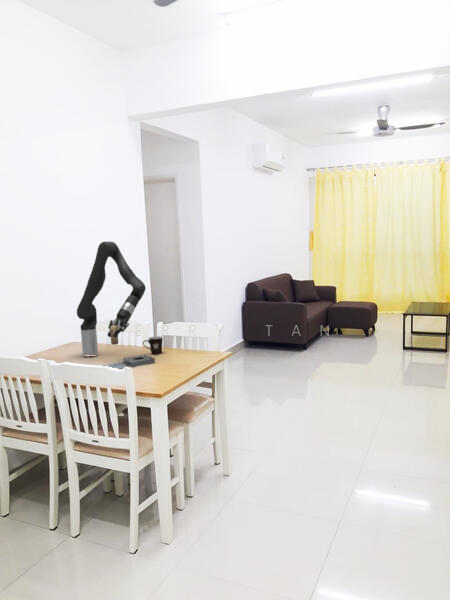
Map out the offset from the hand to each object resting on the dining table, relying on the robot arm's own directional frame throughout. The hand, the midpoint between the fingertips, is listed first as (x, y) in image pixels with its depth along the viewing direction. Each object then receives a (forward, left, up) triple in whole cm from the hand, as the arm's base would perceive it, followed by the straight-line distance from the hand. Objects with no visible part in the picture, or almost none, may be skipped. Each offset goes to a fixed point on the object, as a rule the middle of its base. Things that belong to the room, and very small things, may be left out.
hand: (111, 336), depth 273 cm
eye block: (-1, +15, -18) cm, 23 cm away
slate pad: (-1, +1, -18) cm, 18 cm away
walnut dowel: (-1, +2, -5) cm, 5 cm away
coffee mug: (-18, +32, -18) cm, 41 cm away
